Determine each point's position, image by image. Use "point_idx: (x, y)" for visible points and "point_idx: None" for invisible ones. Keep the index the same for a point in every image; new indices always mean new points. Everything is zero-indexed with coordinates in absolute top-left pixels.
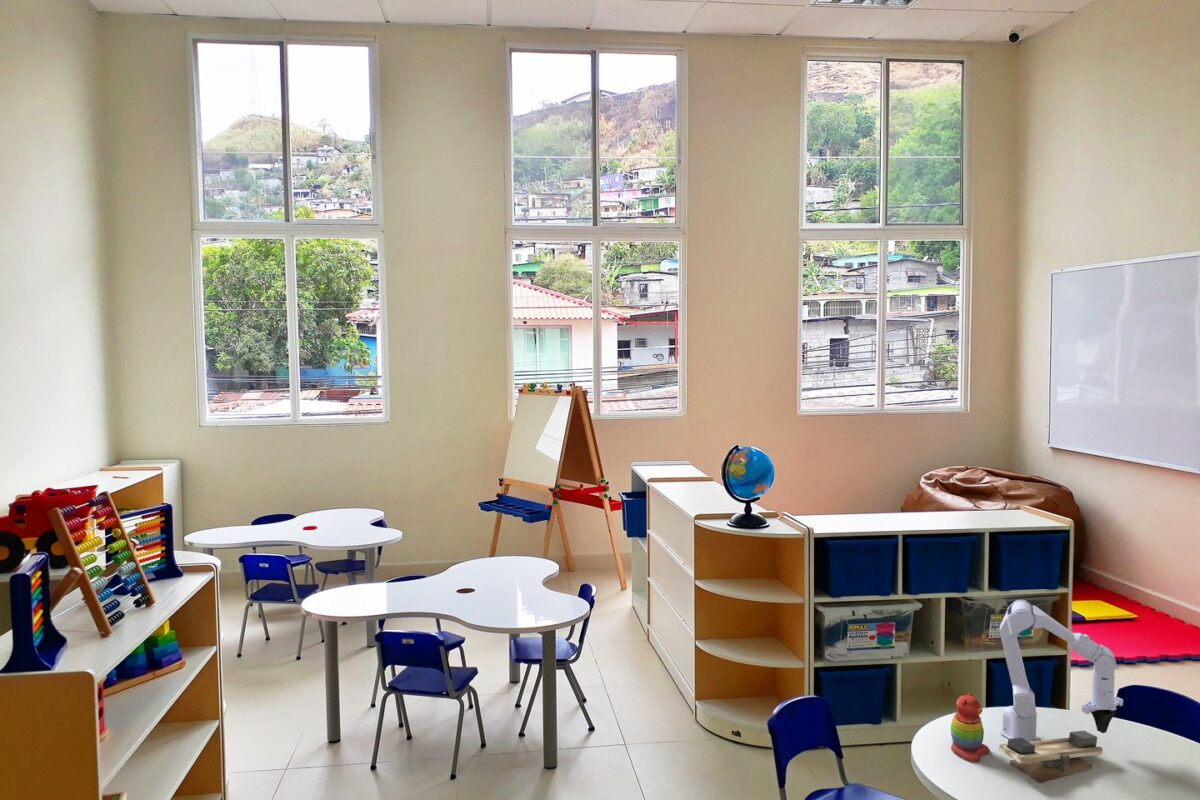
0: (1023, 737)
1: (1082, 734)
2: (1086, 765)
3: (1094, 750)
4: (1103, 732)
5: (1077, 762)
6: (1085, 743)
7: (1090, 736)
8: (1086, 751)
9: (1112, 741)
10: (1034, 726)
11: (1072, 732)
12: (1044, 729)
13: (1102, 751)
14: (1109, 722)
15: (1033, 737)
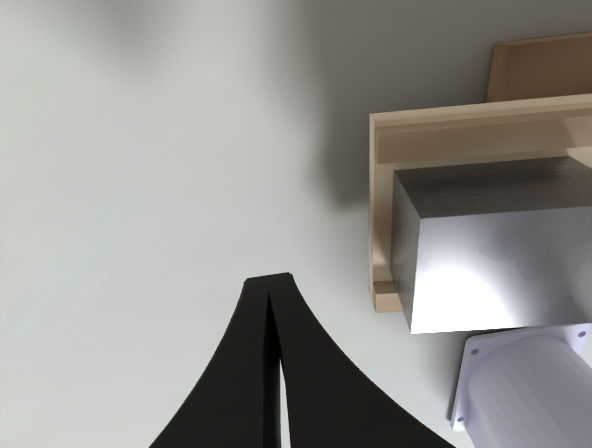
0: (589, 366)
1: (527, 276)
2: (556, 51)
3: (478, 120)
4: (287, 275)
5: None
6: (559, 181)
7: (484, 237)
8: (581, 111)
9: (87, 290)
10: (587, 419)
11: (586, 313)
12: None
13: (379, 119)
14: (217, 361)
15: (545, 360)
